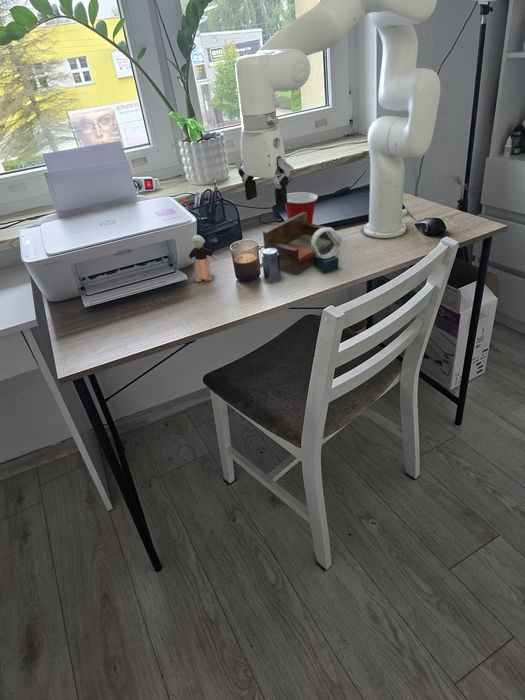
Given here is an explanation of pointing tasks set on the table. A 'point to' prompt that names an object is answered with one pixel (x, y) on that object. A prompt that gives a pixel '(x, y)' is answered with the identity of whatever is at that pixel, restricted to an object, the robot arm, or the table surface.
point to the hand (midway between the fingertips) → (266, 201)
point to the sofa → (296, 243)
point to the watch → (327, 259)
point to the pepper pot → (271, 265)
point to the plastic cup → (301, 204)
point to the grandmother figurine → (201, 259)
